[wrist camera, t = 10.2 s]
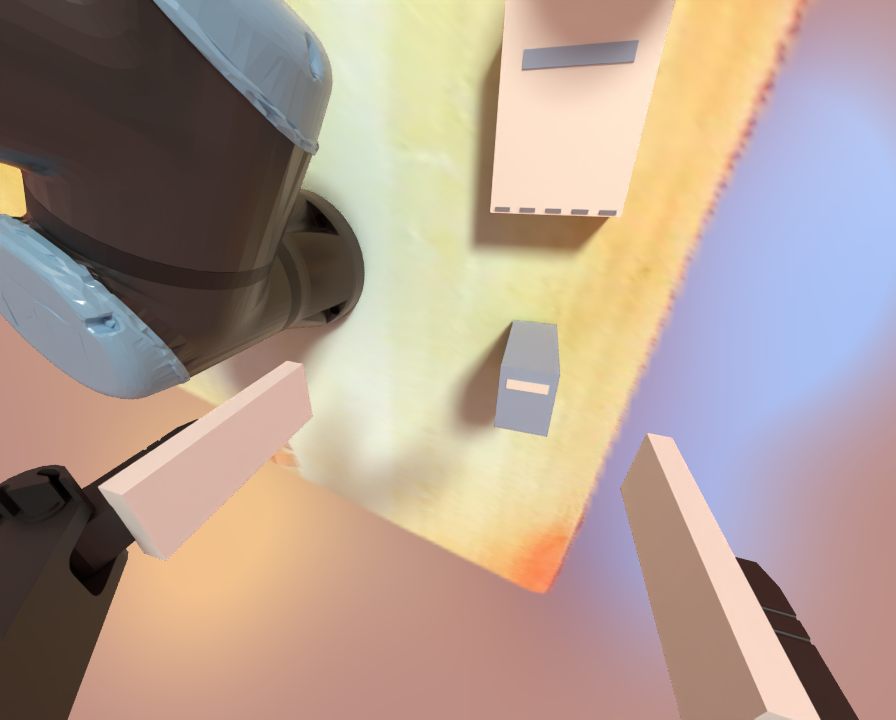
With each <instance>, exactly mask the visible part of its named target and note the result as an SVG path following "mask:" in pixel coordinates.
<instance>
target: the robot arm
mask: <svg viewBox="0 0 896 720" xmlns="http://www.w3.org/2000/svg"><path fill="white" fill-rule="evenodd" d="M331 90H332V70H331V65H330V61H329V59H328V56H327V53H326V51H325V49H324V47H323V45H322V43H321V42H320V40H319V39H318V37H317V36H316V35H315V33H314V32H313V31H312V30H311V29H310V28H309V26H308V25H307V24H306V23H305V22H304V21H303V20H302V19H301V18H300V17H299V16H298V14H297V13H296V12H295V11H294V10H293V9H292V8H291V7H290V6H289V5H288V4H287V3H286V2H285V1H284V0H0V163H3V164H7V165H10V166H13V167H16V168H19V169H20V170H21V173H22V178H23V184H24V192H25V200H26V209H27V213H26V214H25V215H24V216H22V217H11V216H9V215H7V214H0V314H1V315H2V316H3V317H4V318H5V319H6V320H7V321H8V322H9V323H10V324H11V325H12V327H13V328H14V329H15V330H16V331H17V332H18V333H19V334H20V335H21V336H22V337H23V338H24V339H25V340H26V341H27V342H28V343H29V344H31V345H32V346H33V347H34V348H35V349H36V350H37V351H38V352H39V353H40V354H42V355H43V356H44V357H45V358H46V359H47V360H49V361H50V362H51V363H53V364H54V365H55V366H56V367H58V368H59V369H60V370H62V371H63V372H65V373H66V374H67V375H69V376H70V377H72V378H73V379H75V380H76V381H78V382H79V383H81V384H83V385H85V386H86V387H88V388H90V389H92V390H94V391H97V392H99V393H102V394H104V395H107V396H111V397H117V398H121V399H139V398H143V397H147V396H150V395H152V394H154V393H157V392H160V391H162V390H165V389H168V388H170V387H173V386H175V385H178V384H181V383H185V382H187V381H189V380H190V378H191V377H193V376H194V375H196V374H198V373H200V372H202V371H204V370H206V369H208V368H210V367H212V366H214V365H216V364H218V363H220V362H222V361H224V360H226V359H228V358H230V357H231V356H233V355H235V354H237V353H239V352H241V351H243V350H245V349H247V348H249V347H251V346H253V345H255V344H257V343H259V342H261V341H263V340H265V339H266V338H268V337H270V336H272V335H274V334H276V333H278V332H280V331H282V330H284V329H291V328H304V327H317V326H323V325H326V324H329V323H332V322H334V321H335V320H337V319H339V318H341V317H342V316H344V315H346V314H347V313H348V312H349V311H350V310H351V309H352V308H353V307H354V306H355V304H356V303H357V301H358V299H359V297H360V295H361V292H362V288H363V283H364V262H363V257H362V252H361V249H360V246H359V243H358V240H357V238H356V236H355V234H354V232H353V230H352V228H351V227H350V225H349V224H348V222H347V221H346V219H345V218H344V217H343V215H342V214H341V213H340V212H339V211H338V210H337V209H336V208H335V207H334V206H333V205H332V204H331V203H329V202H328V201H327V200H325V199H324V198H322V197H321V196H319V195H317V194H315V193H313V192H310V191H307V190H304V189H300V188H301V185H302V182H303V180H304V177H305V174H306V171H307V168H308V165H309V163H310V160H311V157H312V155H315V154H316V152H317V151H318V149H319V144H318V141H317V139H318V136H319V133H320V129H321V126H322V122H323V119H324V116H325V112H326V109H327V105H328V102H329V98H330V95H331ZM312 416H313V415H312V409H311V404H310V399H309V393H308V388H307V383H306V377H305V372H304V367H303V364H301V363H296V362H291V361H286V362H284V363H283V364H281V365H280V366H278V367H277V368H275V369H274V370H272V371H271V372H269V373H268V374H266V375H265V376H263V377H262V378H260V379H259V380H257V381H256V382H254V383H253V384H251V385H250V386H248V387H247V388H245V389H244V390H242V391H241V392H239V393H238V394H236V395H235V396H233V397H232V398H230V399H229V400H227V401H226V402H224V403H223V404H221V405H220V406H218V407H217V408H215V409H214V410H212V411H211V412H209V413H208V414H206V415H205V416H204V417H202V418H200V419H196V420H194V421H192V422H189V423H187V424H185V425H182V426H180V427H177V428H176V429H174V430H173V431H171V432H170V433H168V434H167V435H165V436H164V437H162V438H161V440H160V441H158V440H157V441H156V442H154V443H153V444H151V445H150V446H148V447H147V449H146V450H142V451H140V452H139V453H137V454H136V455H134V456H133V457H131V458H130V459H128V460H127V461H125V462H124V463H122V464H121V465H119V466H117V467H116V468H114V469H113V470H111V471H110V472H108V473H107V474H105V475H104V476H102V477H100V478H99V479H97V480H96V481H94V482H93V483H91V484H90V485H88V486H86V487H84V488H83V489H81V488H80V486H79V485H78V484H77V482H76V481H75V480H74V478H73V477H72V476H71V474H70V473H69V472H68V470H67V469H66V468H65V466H59V465H49V466H42V467H38V468H35V469H31V470H28V471H25V472H23V473H20V474H18V475H16V476H13V477H11V478H9V479H7V480H6V481H4V482H2V483H1V484H0V720H68V717H69V714H70V712H71V709H72V706H73V703H74V701H75V698H76V695H77V692H78V690H79V687H80V685H81V682H82V679H83V677H84V674H85V671H86V669H87V666H88V663H89V661H90V658H91V655H92V653H93V650H94V647H95V645H96V642H97V639H98V637H99V634H100V631H101V629H102V626H103V623H104V621H105V618H106V615H107V613H108V610H109V607H110V605H111V602H112V599H113V597H114V594H115V591H116V589H117V586H118V583H119V581H120V578H121V575H122V572H123V570H124V567H125V565H126V562H127V559H128V551H127V550H126V548H127V547H128V546H129V545H130V544H131V543H133V542H134V541H136V542H137V544H138V545H139V547H140V548H141V549H142V551H143V552H144V553H145V554H148V555H151V556H153V557H156V558H159V559H161V560H164V561H166V560H167V559H168V558H169V557H170V556H171V555H172V554H173V553H174V552H175V551H176V550H177V549H178V548H179V547H180V546H181V545H182V544H183V543H184V542H185V541H186V540H187V539H188V538H189V537H190V536H192V534H194V533H195V532H196V531H197V529H199V528H200V527H201V526H202V525H203V524H204V523H205V522H206V521H207V520H208V519H209V518H210V517H211V516H212V515H213V514H214V513H215V512H216V511H217V510H218V509H219V508H220V507H221V506H222V505H223V504H224V503H225V502H226V501H227V500H228V499H229V498H230V497H231V496H232V495H233V494H234V493H235V492H236V491H237V490H238V489H239V488H240V487H241V486H242V485H243V484H244V483H245V482H246V481H247V480H248V479H249V478H250V477H251V476H252V475H253V474H255V473H256V471H258V469H260V468H261V467H262V466H263V464H265V463H266V462H267V461H268V460H269V459H270V458H271V457H272V456H273V455H274V454H275V453H276V452H277V451H278V450H279V449H280V448H281V447H282V446H283V445H284V444H285V443H286V442H287V441H288V440H289V439H290V438H291V437H292V436H293V435H294V434H295V433H296V432H297V431H298V430H299V429H300V428H301V427H302V426H303V425H304V424H305V423H306V422H307V421H308V420H309V419H310V418H311V417H312ZM620 489H621V493H622V497H623V501H624V505H625V509H626V512H627V515H628V520H629V524H630V527H631V531H632V535H633V539H634V543H635V546H636V550H637V554H638V558H639V562H640V565H641V569H642V573H643V577H644V581H645V584H646V588H647V592H648V596H649V600H650V603H651V607H652V611H653V615H654V619H655V622H656V626H657V630H658V634H659V638H660V642H661V645H662V649H663V653H664V657H665V661H666V664H667V668H668V672H669V676H670V680H671V683H672V687H673V691H674V694H675V698H676V702H677V706H678V710H679V714H680V718H681V720H859V719H858V717H857V716H856V714H855V712H854V711H853V709H852V707H851V706H850V704H849V703H848V701H847V699H846V697H845V696H844V694H843V692H842V691H841V689H840V687H839V686H838V684H837V682H836V681H835V679H834V677H833V676H832V674H831V672H830V671H829V669H828V667H827V666H826V664H825V662H824V661H823V659H822V657H821V656H820V654H819V652H818V651H817V649H816V647H815V646H814V645H812V644H811V642H810V637H809V636H808V634H807V632H806V631H805V629H804V627H803V626H802V624H801V622H800V621H798V620H797V619H796V614H795V612H794V611H793V609H792V607H791V606H790V604H789V602H788V601H787V599H786V597H785V595H784V594H783V592H782V591H781V589H780V587H779V586H778V585H777V584H776V583H775V582H774V581H773V580H772V579H771V578H770V577H769V576H768V575H767V573H766V572H765V571H764V570H763V569H762V568H761V567H760V566H759V565H758V564H757V563H756V562H753V561H749V560H745V559H741V558H737V557H735V556H734V555H733V553H732V551H731V549H730V547H729V545H728V543H727V541H726V539H725V538H724V536H723V534H722V532H721V530H720V528H719V526H718V524H717V522H716V520H715V518H714V516H713V515H712V513H711V511H710V509H709V507H708V505H707V503H706V501H705V500H704V498H703V496H702V494H701V492H700V490H699V488H698V486H697V485H696V482H695V481H694V479H693V477H692V475H691V473H690V471H689V469H688V467H687V465H686V463H685V462H684V460H683V458H682V456H681V454H680V452H679V450H678V448H677V446H676V445H675V442H674V441H673V439H672V438H670V437H665V436H660V435H655V434H650V433H647V434H646V436H645V438H644V440H643V442H642V444H641V446H640V448H639V450H638V453H637V455H636V457H635V459H634V461H633V463H632V465H631V467H630V469H629V471H628V473H627V476H626V478H625V480H624V482H623V484H622V486H621V488H620Z"/></svg>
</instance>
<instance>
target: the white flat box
mask: <svg viewBox="0 0 896 720" xmlns="http://www.w3.org/2000/svg"><path fill="white" fill-rule="evenodd" d="M674 3H675V0H506V4H505V17H504V31H503V44H502V58H501V71H500V85H499V99H498V112H497V126H496V139H495V153H494V166H493V180H492V194H491V207H490V213H514V214H542V215H571V216H600V217H621V215H622V211H623V207H624V203H625V199H626V195H627V191H628V187H629V183H630V179H631V175H632V171H633V167H634V163H635V159H636V155H637V151H638V147H639V143H640V139H641V135H642V131H643V127H644V123H645V119H646V115H647V111H648V107H649V103H650V99H651V95H652V91H653V87H654V83H655V79H656V75H657V71H658V67H659V63H660V59H661V55H662V51H663V47H664V43H665V39H666V35H667V31H668V27H669V23H670V19H671V15H672V11H673V7H674Z"/></svg>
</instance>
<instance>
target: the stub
mask: <svg viewBox="0 0 896 720" xmlns="http://www.w3.org/2000/svg"><path fill="white" fill-rule="evenodd" d="M559 378H560V364H559V349H558V334H557V325H555V324H546V323H537V322H528V321H519V320H514V321H513V324H512V328H511V331H510V335H509V338H508V342H507V346H506V349H505V353H504V356H503V360H502V364H501V369H500V378H499V387H498V397H497V406H496V415H495V424H494V427H499V428H504V429H509V430H514V431H520V432H525V433H530V434H535V435H541V436H546V437H547V434H548V429H549V425H550V420H551V415H552V411H553V406H554V401H555V396H556V392H557V387H558V382H559Z"/></svg>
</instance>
